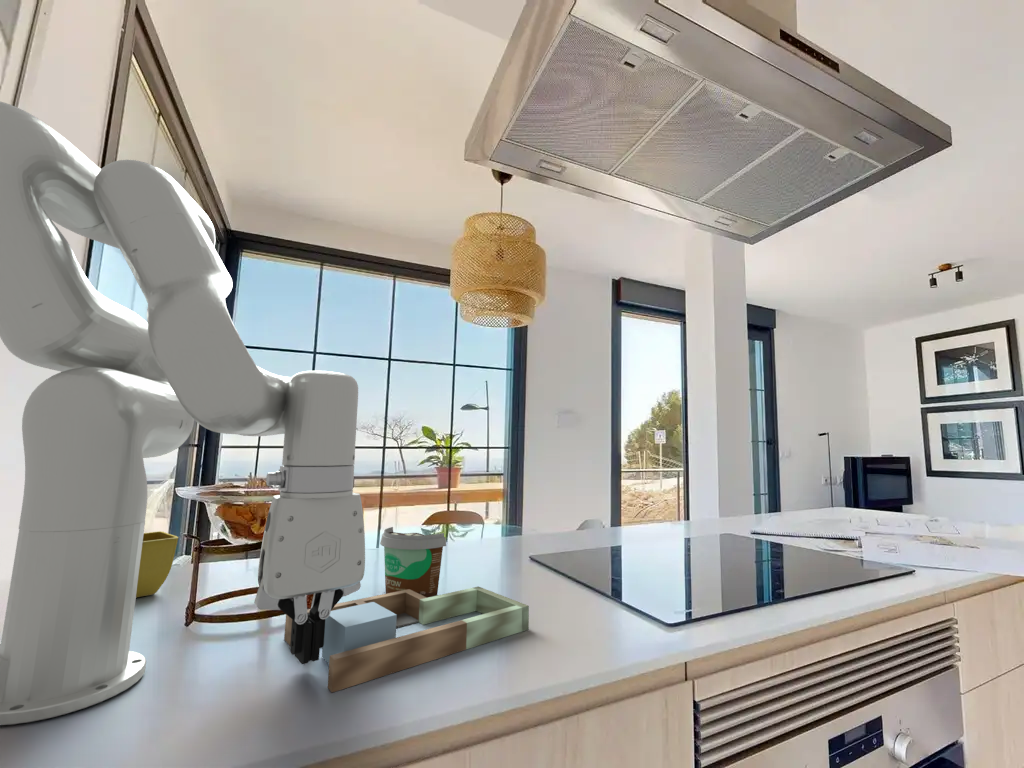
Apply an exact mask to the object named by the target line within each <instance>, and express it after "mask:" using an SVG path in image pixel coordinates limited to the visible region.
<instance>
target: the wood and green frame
mask: <svg viewBox="0 0 1024 768" xmlns="http://www.w3.org/2000/svg"><path fill="white" fill-rule="evenodd" d="M370 602H375V603H377V604H378V605H380V606H382V607H384V608H386V609H387V610H389V611H391V612H393V613H395V614H396V615H397V620H396V629H397V628H401V627H405V626H409V625H414V624H417V623H419V624H421V625H427V624H431V623H436V622H438V621H443V620H446V619H451V618H454V617H457V616H462V615H467V614H470V613H474V612H478V613H479V615H475V616H472V617H468V618H465V619H461V620H458V621H453V622H449V623H446V624H442V625H439V626H434V627H430V628H428V629H427V628H426V629H423V630H420V631H416V632H412V633H408V634H406V635H400V636H396V638H393V639H389V640H386V641H382V642H378V643H375V644H371V645H367V646H364V647H360V648H356V649H352V650H349V651H345V652H341V653H338V654H334V655H330V659H329V664H328V674H327V676H328V678H327V689H328V690H329V691H330V692H331V693H335V692H338V691H342V690H345V689H347V688H351V687H355V686H356V685H360V684H363V683H366V682H370V681H372V680H375V679H376V680H377V679H379V678H382V677H385V676H388V675H391V674H394V673H398V672H400V671H403V670H404V671H405V670H407V669H410V668H414V667H416V666H419V665H423V664H426V663H428V662H431V661H435V660H437V659H441V658H445V657H446V656H450V655H453V654H456V653H460V652H463V651H466V650H469V649H472V648H475V647H479V646H481V645H482V646H483V645H485V644H487V643H491V642H494V641H497V640H500V639H503V638H506V637H510V636H512V635H516V634H519V633H522V632H525V631H528V630H529V629H530V622H529V621H530V620H529V619H530V618H529V617H530V616H529V615H530V605H528V604H525V603H523V602H520V601H517V600H515V599H512V598H510V597H507V596H504V595H502V594H499V593H497V592H494V591H491V590H489V589H486V588H484V587H481V586H475V587H469V588H466V589H461V590H457V591H456V590H455V591H451V592H447V593H443V594H439V595H438V594H437V595H436V596H433V597H428V598H427V597H425V596H423V595H421V594H418V593H416V592H414V591H412V590H410V589H407V590H402V591H397V592H392V593H387V594H386V593H384V594H378V595H373V596H368V597H363V598H359V599H358V598H357V599H353V600H348V601H343V602H338V603H337V604H336V605H335V606H334V607H333V609H332V610H331V611H333V610H338V609H342V608H347V607H352V606H356V605H361V604H366V603H370ZM310 609H311V608H307V614H308V613H310ZM284 622H285V624H284V637H283V640H284V641H285V642H286V643H287V644H288V645H289V646H290V642H291V628H292V619H291V618H290V617H289V616H288V615H287V614H285V621H284Z"/></svg>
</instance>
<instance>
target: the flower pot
mask: <svg viewBox="0 0 1024 768" xmlns="http://www.w3.org/2000/svg"><path fill="white" fill-rule="evenodd" d="M178 541H179V536H177V535H174V534H171V533H167V532H165V531H160V530H159V531H152V532H144V535H143V543H142V551H141V559H140V567H139V575H138V583H137V591H136V598H141V597H146V596H151V595H155V594H157V592H158V591H159V590H160V588H161V587H162V585H163V584H164V583H165V582H166V579H168V576H169V574H170V572H171V570H172V566H173V562H174V558H175V554H176V550H177V546H178Z"/></svg>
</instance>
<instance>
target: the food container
mask: <svg viewBox="0 0 1024 768" xmlns="http://www.w3.org/2000/svg"><path fill="white" fill-rule="evenodd" d="M379 545H380V546H382V547H384V548H383V551H384V552H383V555H384V583H385V588H384V589H385V594H387V593H392V592H397V591H402V590H407V589H410V590H412V591H414V592H416V593H418V594H421V595H423V596H425V597H427V598H428V597H433V596H437V595H438V591H439V584H440V574H441V566H442V557H443V549H444V547H447V540H446V536H445V532H442V533H435V534H423V533H420V532H409V533H408V532H407V533H406V532H405V533H402V532H394V527H393V526H389V527H388V528H387V527H386V528H385V529H383V533H382V534H381V539H380V543H379Z"/></svg>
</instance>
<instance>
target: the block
mask: <svg viewBox="0 0 1024 768" xmlns="http://www.w3.org/2000/svg"><path fill="white" fill-rule="evenodd" d="M396 620H397V615H396V614H395V613H393V612H391V611H389V610H387V609H386V608H384V607H382V606H380V605H378V604H377V603H375V602H370V603H366V604H361V605H356V606H352V607H347V608H342V609H338V610H333V611H331V612H330V615H329V617H328V618H326V619H325V634H324V646H323V647H321V652H322V653H321V658H322V657H323V658H324V659H325V660H326V661H327V662H328V663H329V659H330V655H334V654H338V653H341V652H345V651H349V650H352V649H356V648H360V647H364V646H367V645H371V644H375V643H378V642H382V641H386V640H389V639H393V638H397V636H396V635H397V628H396ZM323 658H322V659H323ZM324 659H323V660H324ZM325 660H324V661H325ZM326 661H325V662H326ZM328 663H327V664H328Z"/></svg>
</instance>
